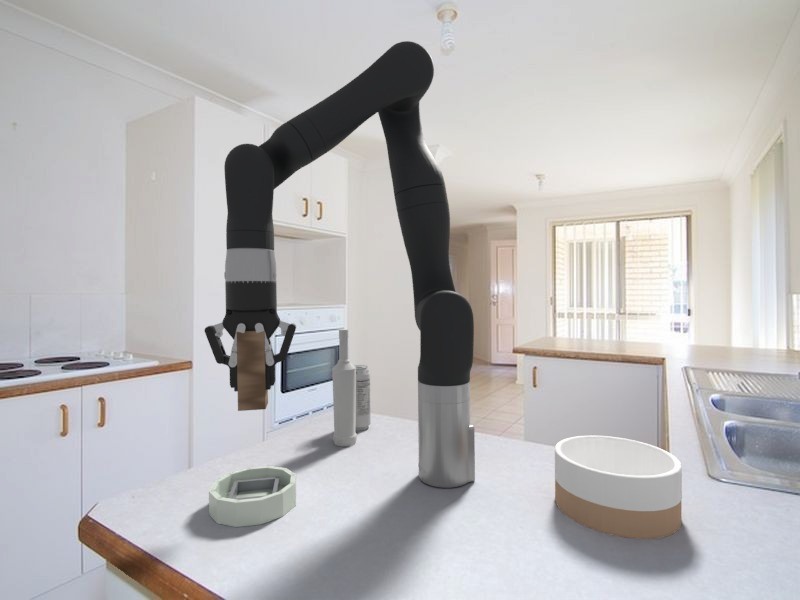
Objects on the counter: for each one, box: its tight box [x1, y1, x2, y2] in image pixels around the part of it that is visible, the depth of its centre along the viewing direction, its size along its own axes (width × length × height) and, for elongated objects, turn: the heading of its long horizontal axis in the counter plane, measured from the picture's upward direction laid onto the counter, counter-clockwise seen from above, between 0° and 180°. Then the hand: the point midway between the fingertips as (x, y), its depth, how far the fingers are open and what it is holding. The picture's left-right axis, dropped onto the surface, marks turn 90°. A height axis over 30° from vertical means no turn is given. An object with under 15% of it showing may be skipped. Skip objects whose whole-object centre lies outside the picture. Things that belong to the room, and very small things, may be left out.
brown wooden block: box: [237, 331, 269, 412], centre depth 68 cm, size 4×4×12 cm
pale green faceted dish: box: [208, 465, 297, 528], centre depth 68 cm, size 13×13×4 cm
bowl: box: [554, 434, 683, 540], centre depth 66 cm, size 17×17×8 cm
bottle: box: [331, 328, 358, 447], centre depth 95 cm, size 5×5×25 cm
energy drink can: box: [353, 364, 372, 432], centre depth 106 cm, size 6×6×15 cm
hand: (253, 389), depth 68 cm, fingers closed on brown wooden block, 4 cm apart
